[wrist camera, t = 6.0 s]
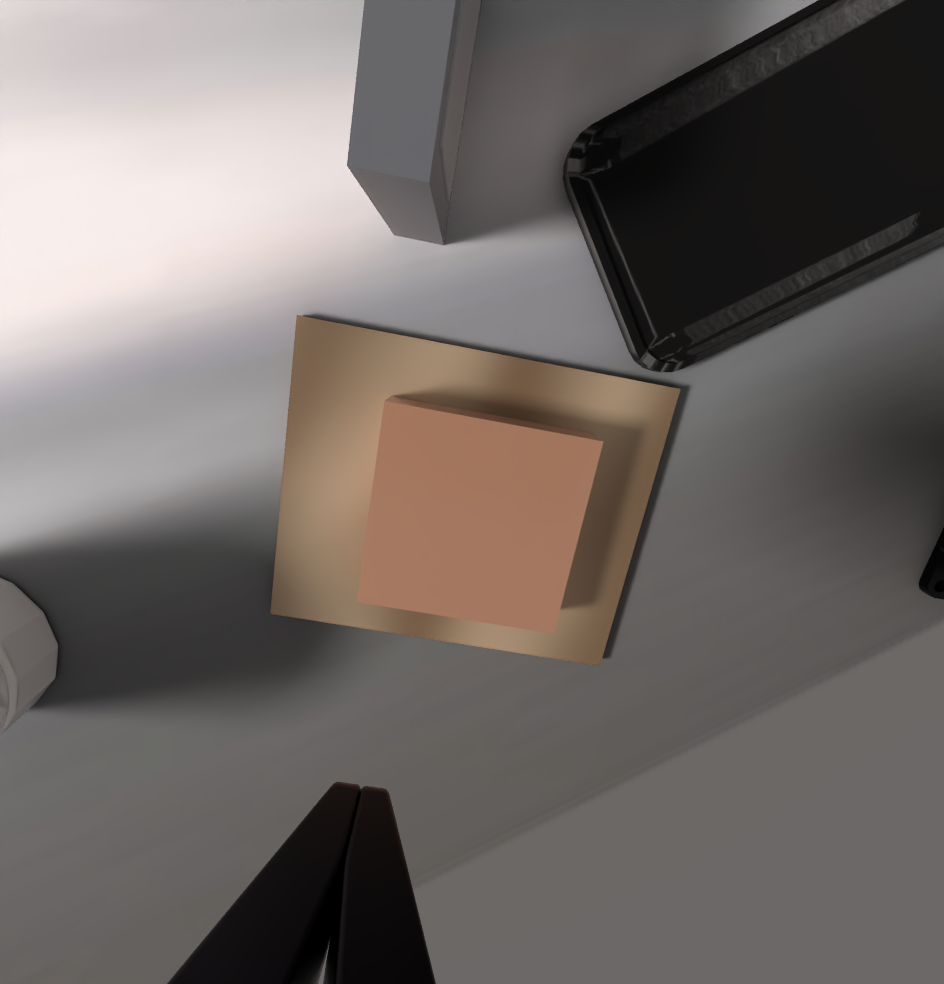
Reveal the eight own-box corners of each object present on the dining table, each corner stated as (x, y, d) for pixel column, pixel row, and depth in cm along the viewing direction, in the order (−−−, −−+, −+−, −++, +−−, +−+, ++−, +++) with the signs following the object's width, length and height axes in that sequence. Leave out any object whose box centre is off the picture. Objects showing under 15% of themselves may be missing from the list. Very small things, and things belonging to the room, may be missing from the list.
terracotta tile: (391, 395, 18) (591, 432, 18) (365, 580, 20) (547, 610, 20) (384, 401, 16) (603, 441, 17) (356, 602, 18) (553, 633, 19)
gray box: (485, -17, 15) (502, -305, 8) (444, 245, 17) (430, 183, 10) (429, -30, 15) (399, -333, 8) (394, 235, 17) (346, 165, 10)
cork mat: (676, 387, 18) (680, 389, 18) (597, 659, 21) (599, 665, 21) (300, 315, 17) (296, 315, 17) (274, 608, 20) (270, 613, 20)
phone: (554, 145, 16) (1076, -142, 14) (549, 157, 17) (1032, -107, 15) (650, 387, 17) (1118, 162, 16) (639, 385, 19) (1076, 174, 17)
